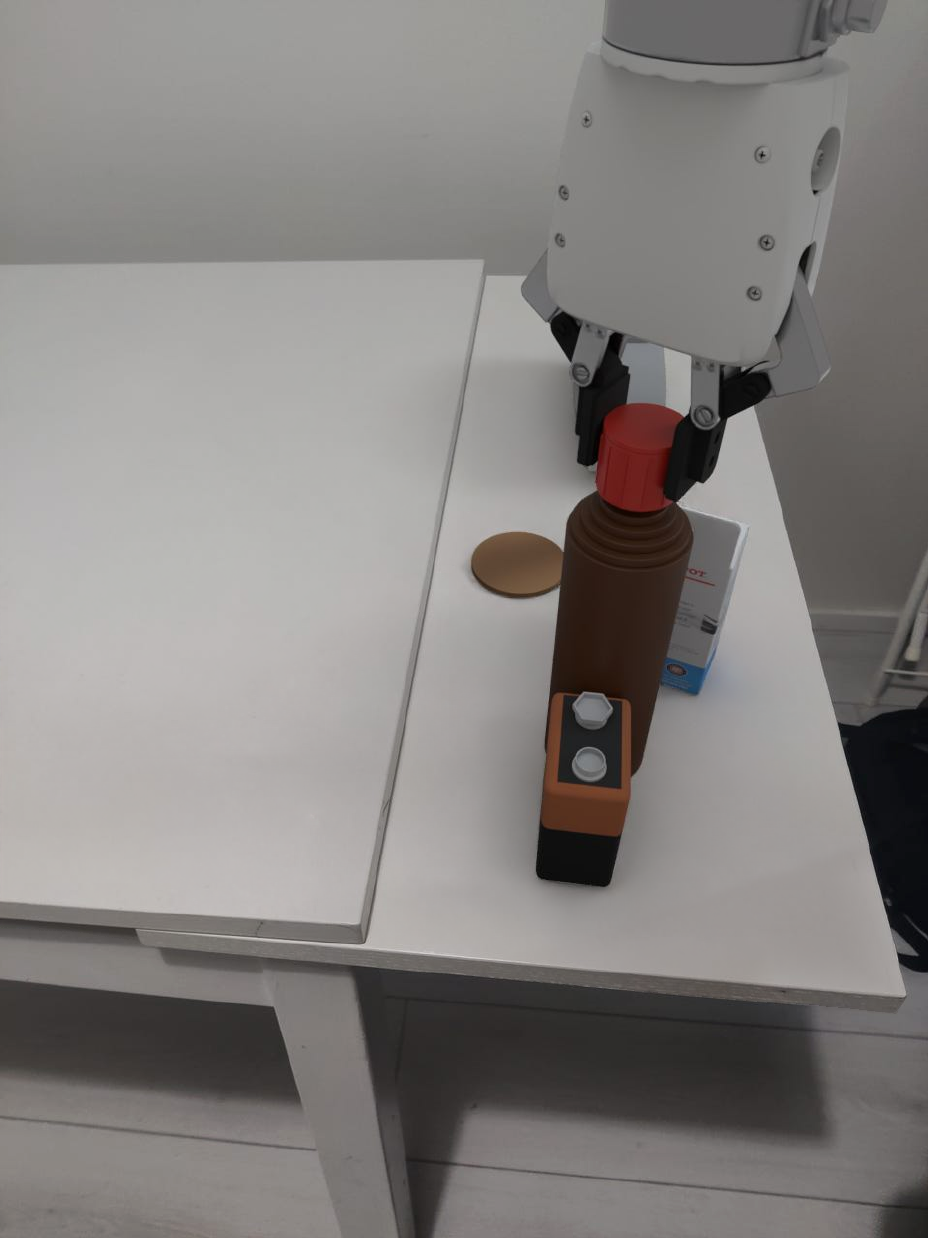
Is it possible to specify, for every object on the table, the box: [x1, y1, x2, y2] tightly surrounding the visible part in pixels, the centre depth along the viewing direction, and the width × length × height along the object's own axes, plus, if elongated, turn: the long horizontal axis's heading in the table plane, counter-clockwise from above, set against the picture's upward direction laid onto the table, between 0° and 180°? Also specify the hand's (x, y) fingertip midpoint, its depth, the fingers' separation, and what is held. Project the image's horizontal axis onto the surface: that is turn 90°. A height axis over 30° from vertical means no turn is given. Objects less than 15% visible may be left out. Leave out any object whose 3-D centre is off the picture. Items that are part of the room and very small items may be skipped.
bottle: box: [543, 490, 694, 778], centre depth 49 cm, size 6×6×24 cm
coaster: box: [470, 531, 564, 599], centre depth 70 cm, size 8×8×1 cm
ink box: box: [660, 504, 750, 696], centre depth 58 cm, size 8×5×15 cm, turn 63°
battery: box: [535, 692, 632, 888], centre depth 49 cm, size 4×7×10 cm, turn 172°
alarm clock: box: [572, 337, 667, 473], centre depth 81 cm, size 23×6×13 cm, turn 178°
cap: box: [594, 403, 685, 512], centre depth 41 cm, size 4×4×4 cm
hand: (640, 465), depth 42 cm, fingers closed on cap, 3 cm apart
